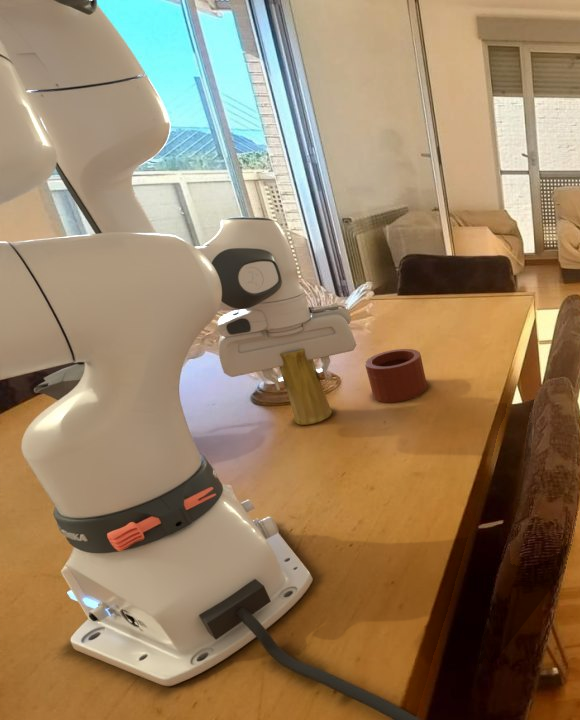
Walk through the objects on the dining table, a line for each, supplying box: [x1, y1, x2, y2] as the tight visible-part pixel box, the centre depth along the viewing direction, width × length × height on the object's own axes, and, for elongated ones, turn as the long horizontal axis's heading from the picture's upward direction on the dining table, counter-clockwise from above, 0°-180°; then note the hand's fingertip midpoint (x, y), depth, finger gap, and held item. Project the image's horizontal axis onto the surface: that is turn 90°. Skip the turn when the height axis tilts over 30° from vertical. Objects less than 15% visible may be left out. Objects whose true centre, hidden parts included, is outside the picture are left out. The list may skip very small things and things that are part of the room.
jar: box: [364, 348, 428, 404], centre depth 98 cm, size 10×10×8 cm
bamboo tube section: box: [279, 349, 333, 426], centre depth 88 cm, size 6×6×14 cm
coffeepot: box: [33, 362, 85, 401], centre depth 80 cm, size 15×9×18 cm, turn 171°
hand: (303, 383), depth 88 cm, fingers closed on bamboo tube section, 5 cm apart
